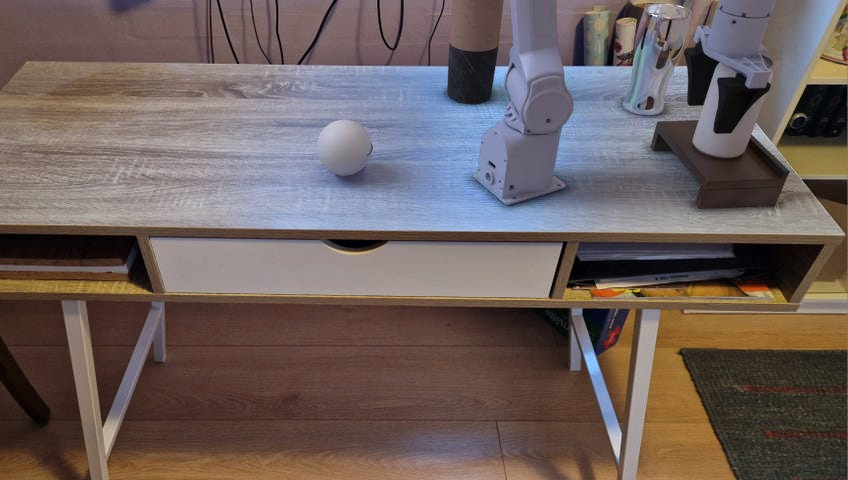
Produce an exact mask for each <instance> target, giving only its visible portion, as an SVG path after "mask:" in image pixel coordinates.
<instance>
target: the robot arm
mask: <svg viewBox="0 0 848 480" xmlns="http://www.w3.org/2000/svg"><path fill="white" fill-rule="evenodd" d="M776 3H777V0H719V2H718V5H717V8H716V11H715V15H714V18H713V21H712V24H711V25H698V26H697V27H696V30H695V33H694V38H693V42H694V43H695V44H696V45H695V46H693V47H690V46H689V47H686V48H684V49H683V56H684V58H685V63H686V70H687V92H686V93H687V95H686V102H687V103H686V104H687V106H689V107H703V105H704V102H705V99H706V96H707V93H708V90H709V87H710V84H711V80H712V77H713V74H714V71H715V69H716V66H717V65H718V64H719V63H720V62H721V63H723V64H725V65H728V66H729V67H730V68H731V69H732V70H734V71H735V72H736V76H735V78H734V77H719V78H718V79H717V83H718V92H719V99H718V108H717V112H716V116H715V121H714V127H713V131H714V132H715V134H730V133H732V132H733V130H734V129H735V127H736V126H737V124H738V123H739V122H740V120H741V119H742V117H743V116H744V115H745V113H746V112H747V111H748V110H749V108H750V107H751V106H752V105H753V104H754V103H755V102H756V101H757V100H758V99H759V98H761V97H762V96H763V95H764V94H766V93H767V94H768V92H770V89H771V87H772V84H771V83H769V82H768V79H769V76H770V74H771V71H770V70H768V69H767V67H766V66H765V63H764V61H763V58H762V55H765V56H766V54H767V52H768V47H766V46H765V45H763V44H762V41H763V40H764V36H765V35H766V31H767V28H768V25H769V22H770V20H771V17H772V14H773V11H774V9H775V6H776ZM509 4H510V17H511V27H512V28H511V31H512V43H513V44H512V47H511V48H510V50H509V53H508V54H509V63H508V67H507V70H506V72H505V74H504V79H503V85H504V91H505V92H506V94H507V96H508V97H509V98H510V101H509V102H508V105H507V107H506V109H505V111H504V115H503V117H502V119H501V120H500V121H499V122H498V123H497V124H495V125H494V126H492V127H490V128H488V129H486V130H485V131H484V132H483V133H482V136H481V139H480V147H479V154H478V155H479V156H478V164H477V165H478V166H477V172H474V173H473V178H474V179H475V180H476V181H478V182H479V183H480V184H481V185H482V186H483V187H484V188H486V190H488V191H489V192H490V193H492V195H494V196H495V197H496V198H497V199H499V200H500V201H501V202H502V203H503V204H504V205H507V206H509V205H514V204H517V203H520V202H523V201H527V200H530V199H533V198H536V197H541V196H543V195H547V194H550V193H554V192H557V191H560V190H563V189H566V187H567V185H566V183H565V182H564V181H562V180H561V179H560V178H559V177H557V176H555V175H554V171H555V166H556V162H557V157H558V156H557V155H558V151H559V146H560V145H559V144H560V139H561V134H562V131H563V126H564V125H565V124H566V123H567V122H568V121H569V120H570V118H571V116H572V114H573V111H574V106H575V103H574V97H573V95H572V93H571V91H570V90H569V89H568V87H567V84H566V78H565V76H566V75H565V69H564V65H563V61H562V58H561V54H560V50H559V38H558V37H559V35H558V34H559V33H558V9H557V7H558V6H557V0H509ZM767 94H766V95H767Z"/></svg>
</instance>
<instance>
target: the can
mask: <svg viewBox="0 0 848 480" xmlns="http://www.w3.org/2000/svg"><path fill="white" fill-rule="evenodd" d="M762 58H763V61H764V63H765V66H766V67H767V69H768V70H770V71H771V74H770V76H769V79H768V82H769V83H770V84H771V83H772V80H773V77H774V73H773V67H774V64H775V62H774V60H773V59H772V58H771V57H769V56H768V55H766V54H765V55H762ZM735 76H736V72H735V71H734V70H732V69H731V68H730V67H729V66H728V65H725V64H723V63H721V62H720V63H719V64H718V65H717V66H716V69H715V71H714V74H713V77H712V80H711V84H710V87H709V90H708V93H707V96H706V99H705V102H704V105H703V106H702V109H701V112H700V115H699V117H698V120H699V121H698V124H697V127H696V131H695V134H694V137H693V144H694V146H695V148H696V149H697V150H698V151H700V152H701V153H703V154H705V155H708V156H711V157H715V158H721V159H731V158H736V157H738V156H740V155H741V154H743V153H744V152H745V150H746V147H747V145H748V142H749V139H750V137H751V134H752V135H753V131H754V130H755V129H754V128H755V126H756V123H757V121H758V118H759V115H760V113H761V110H762V107H763V105H764V103H765V100H766V97H767V94H768V92H767V93H766V94H764V95H763V96H762V97H761V98H759V99H758V100H757V101H756V102H755V103H754V104H753V105H752V106H751V107H750V108H749V110H748V111H747V112H746V113H745V115H744V116H743V117H742V119H741V120H740V122H739V123H738V124H737V126H736V127H735V129H734V130H733V132H732V133H730V134H715V132H714V131H713V127H714V121H715V116H716V112H717V108H718V99H719V92H718V83H717V79H718V78H719V77H734V78H735Z"/></svg>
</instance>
